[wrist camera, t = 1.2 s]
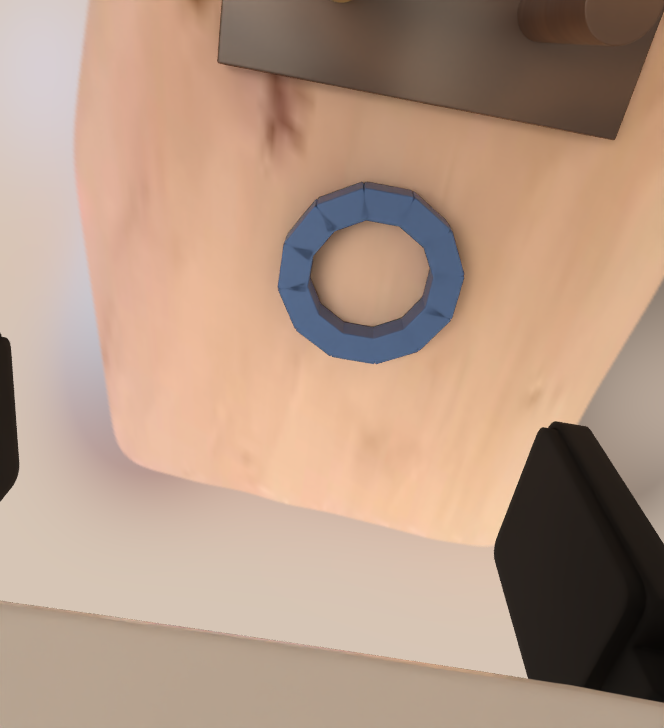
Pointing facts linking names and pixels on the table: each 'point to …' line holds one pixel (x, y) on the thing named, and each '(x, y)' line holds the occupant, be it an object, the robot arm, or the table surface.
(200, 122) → the table surface
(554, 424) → the robot arm
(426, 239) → the ring
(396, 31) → the rack
